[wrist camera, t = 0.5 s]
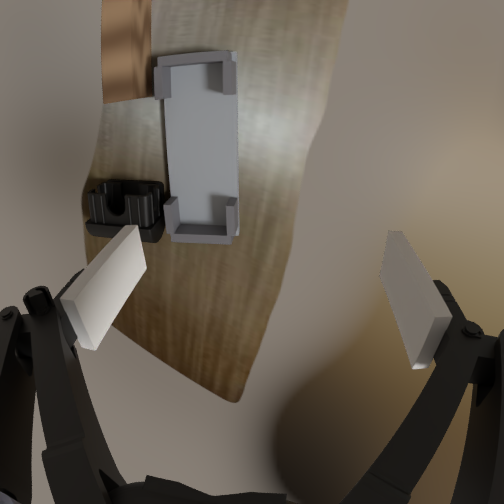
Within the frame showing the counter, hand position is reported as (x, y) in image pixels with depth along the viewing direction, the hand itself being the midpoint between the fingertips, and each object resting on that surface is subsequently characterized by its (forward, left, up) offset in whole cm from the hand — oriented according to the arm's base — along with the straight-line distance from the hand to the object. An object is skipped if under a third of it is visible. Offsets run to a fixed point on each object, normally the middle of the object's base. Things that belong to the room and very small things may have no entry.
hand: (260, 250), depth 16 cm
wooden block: (-16, -18, -25) cm, 35 cm away
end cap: (+7, -20, -26) cm, 33 cm away
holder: (-1, -9, -25) cm, 27 cm away
